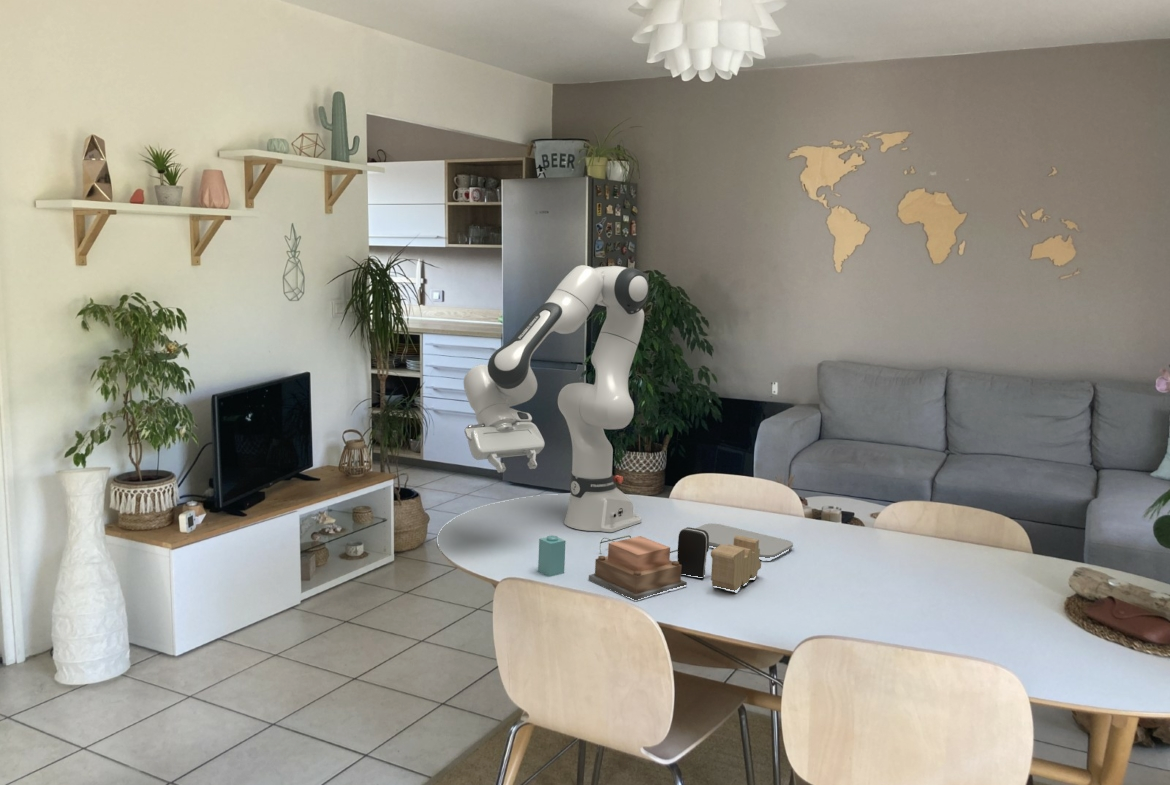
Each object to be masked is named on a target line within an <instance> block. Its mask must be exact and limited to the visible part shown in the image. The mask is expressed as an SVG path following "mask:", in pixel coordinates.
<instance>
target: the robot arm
mask: <svg viewBox="0 0 1170 785" xmlns="http://www.w3.org/2000/svg"><path fill="white" fill-rule="evenodd" d="M649 284H650V282H649V279H648V276H647V275H646V274H645V273H644V272H643V271H641V270H640V269H637V268H634V267H625V266H619V265H611V266H609V265H608V266H599V265H596V266H593V267H592V266H588V265H586V264H585V265H584V264H581V265H577V266H575V267H574V268H573V269H572V270H571V271H570V272H569V273H568V274H567V275H565V277H564V278H563V279H562V280H561V281H560V282H559V283H558V285H557V286H556V288H554V291H553V292H552V293H551V295H550V296H549V298H548V299H547V300H546V301H545V302H544V303H543V304H541V305H540V306H539V307H538V308H537V309H536V310H535V311H534V312H533V313H532V314H531V315H530V317H529V318H528V319H527V320H526V321H525V323H524V324H523V325H522V326H521V327H520V328H519V330H518V331H517V332H516V333H515V334H514V336H513V337H512V338H511V339H510V340H508V342H507V343H505V344H504V345H502V346H501V347H499V348H497V349H496V350H495V351H494V352H493V353H492V355H490V357H489V360H488V362H487V365H486V364H479V365H478V364H477V365H476V366H474V367H472V368H470V369H469V370H468V371H467V372H466V373H465V375H464V378H463V389H464V393H465V396H466V398H467V399H466V400H467V401H468V403H469V405H470V407H471V409H472V410H473V411H474V413H475V419H476V422H477V424H468V425H467V426H466V427H465V428H464V434H465V436H466V439H467V442H468V447H469V450H470V454H471V456H472V458H474V459H475V460H476V461H480V460H481V461H482V460H487V461H488V463H490V465H492V467H494V468H495V469H496V471H497V473H505V471H506V470H507V467H506V466H505V465H506V464H505V462H501V461H500V460H499V459H500V458H501V459H502V458H510V457H518V456H520V457H521V456H526V457H527V458H528V459H529V460H528V462H527V466H528V469H530V470H533V469H534V470H535V469H536V468H537V467H538V463H537V461H536V459H537V457H536V456H537V455H538V454H540V453H541V452H542V451H543V449H544V447H545V446H546V445H545V440H544V437H543V436H542V433H541V432H540V430H539V428H538V426H537V425H536V424H535V423H533V422H532V420H533V417H532V415H531V414H530V413H529V412H525V411H520V410H517V409H514V408H513V407H516V406H518V405H519V406H520V405H521V404H524V403H527V402H529V401H531V399H533V397H534V396H535V395H536V394H537V391H538V386H539V384H538V380H537V377H536V376H535V373H534V370H532V367H531V360H532V359H531V358H532V356H533V354H534V352H535V351H536V350H537V349H538V348H539V346H540V345H541V344H542V343H543V341H544V340H545V339H546V338H547V337H548V335H549V334H551V333H552V332H556V333H558V334H562V335H567V334H572V333H575V332H577V330H578V329H580V327H581V326H582V325H583V324H584V322H585V321H586V320H587V319H588V317H589V315H590V314H591V312H592V310H593V309H594V308H595V306H596V305H598V306H601V307H602V306H603V307H606V318H605V320H604V322H603V324H602V326H601V329H600V332H599V335H598V337H597V340H596V343H595V345H594V349H593V351H592V354H591V356H590V361H591V364H592V366H593V368H594V370H595V380H594V384H591V383H587V382H573V383H569V384H566V385H564V386H563V387H562V388H561V390H560V392H558V397H557V405H558V406H557V407H558V409H559V412H561V414H562V415H563V417H564V419H565V421H566V424H567V427H568V431H569V434H570V439H571V446H572V447H571V448H572V464H571V467H572V468H571V469H572V470H571V472H570V478H569V490H570V494H569V499H568V500H569V501H568V506H567V511H566V514H565V517H564V521H563V523H564V525H565V526H566V527H568V528H572V529H576V530H580V531H587V532H588V531H589V532H591V531H592V532H604V533H605V532H606V533H614V532H616V531H619V530H622V529H625V528H629V527H631V526H634V525H637V524H640V523H642V517H640V516H639V515H638V514H635V512H634V503H633V501H632V499H631V498H630V497H628V496H627V495H626V494H625V493H624V492H623V491H621V489H619V488H618V487H617V483H618V484H622V483H623V482H624V477H623V476H622V475H618V474H617V475H614V474H613V460H614V458H613V456H614V455H613V454H614V453H613V452H614V449H613V446H612V444H611V442H610V440H608V437H607V436H606V434H605V431H604V430H621V429H624V428H626V427H627V426H628V425H630V423H631V422H632V419H633V418H634V413H635V405H634V401H633V399H632V398H631V395H630V392H629V377H630V370H631V367H632V364H633V362H634V358H635V354H636V352H637V349H638V346H639V343H640V341H641V336H642V333H643V330H644V329H643V328H644V324H645V311H644V309H643V308H644V306H645V304H646V302H647V299H648V296H649V292H650V285H649Z"/></svg>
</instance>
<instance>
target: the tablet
mask: <svg viewBox="0 0 1170 785" xmlns="http://www.w3.org/2000/svg"><path fill="white" fill-rule="evenodd" d="M695 528H696V529H701V530H705V531H706V532H707V533H708V535H709V546H713V547H718V546H720V545H721V544H723V545H728V544H730V545H733V544H734V537H735V536H737V535H738V536H743V537H748V538H752V539H757V540H759V549H760V555H759V557H765V558H770V557H775V556H777V555H779V554H781V553H782V552H784V551H786V550H788V549H790V550H791V549H792V548H793V547H794V542H792V541H791V540H788V539H785V538H780V537H775V536H771V535H767V534H763V533H759V532H755V531H754V532H753V531H750V530H746V529H741V528H737V527H732V526H729V525H724V524H720V523H705V524H702V525H700V526H697V527H695Z"/></svg>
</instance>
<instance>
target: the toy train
mask: <svg viewBox="0 0 1170 785" xmlns="http://www.w3.org/2000/svg"><path fill="white" fill-rule="evenodd" d="M759 555H760V549H759V540H757V539H752V538H748V537H743V536H738V535H737V536H735V537H734V544H733V545H730V544H728V545H723V544H721V545H720V546H718V547H716V548H715V549H712V550H711V552H710V556H711V573H710V574H711V576H710V577H711V578H710V580H711V585H712V587H713V586H717V587H721V588H726V589H730V590H734V591H735V590H737V589H738V588H739V587H741V588H742V586H741V585H744V584H745V583H747V582H748V581H749V582H750V580H749V579H750V578H754V577H755V576H757V577H758V572H759V570H761V569H762V568H761V567H762V561H760V559H759Z"/></svg>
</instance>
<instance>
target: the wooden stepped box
mask: <svg viewBox="0 0 1170 785" xmlns="http://www.w3.org/2000/svg"><path fill="white" fill-rule="evenodd" d="M607 548H608V549H607V550H608V551H607V552H608V553H607V556H605V555H598V557H597V558H595V562H594V564H595V565H594V573H592V574H588V581H589V580H590V581H589V582H592V583H594V584H596V585H598V586H600V587H603V586H604V587H603V588H605V587H606V588H605V589H607V588H608V589H607V590H609V589H611V590H612V591H611V590H610V591H611V592H613V591H616V592H618V593H620V594H623V595H624V596H627V597H630V598H632V599H634V600H638V599H641V598H644V597H647V596H650V595H653V594H657V593H660V592H663V591H667V590H669V589H673V588H677V587H680V586H684V585H687V586H688V583H687V581H685V580H682V575H681V568H682V565H680V564H679V562H678V560H673V561H672V560H671V559H670V558H671V553H670V552H671V547H670V546H667V545H666V544H662V543H660V542H657V541H655V540H652V539H649V538H647V537H643V536H642V535H639V536H638V535H637V536H634V537H631V538H630V537H628V538H624V539H621V540H620V539H619V540H615V542H613V541H610V542H608V547H607ZM616 592H615V593H616ZM618 593H617V594H618ZM620 594H619V595H620ZM624 596H623V597H624ZM627 597H626V598H627Z"/></svg>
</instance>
